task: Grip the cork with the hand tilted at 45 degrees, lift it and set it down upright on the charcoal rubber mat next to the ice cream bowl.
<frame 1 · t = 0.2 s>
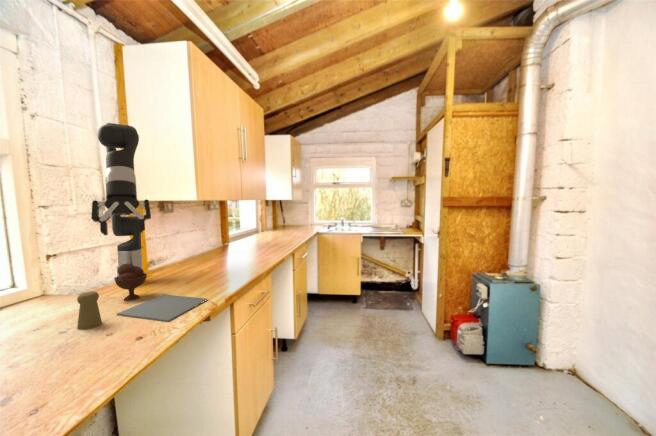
hand: (123, 233, 80), 31 cm above the worktop, tool tilted 20°, fingers open, 8 cm apart
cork: (89, 325, 86), on the worktop
ice cream bowl: (131, 299, 109), on the worktop
charcoal mat: (165, 307, 101), on the worktop
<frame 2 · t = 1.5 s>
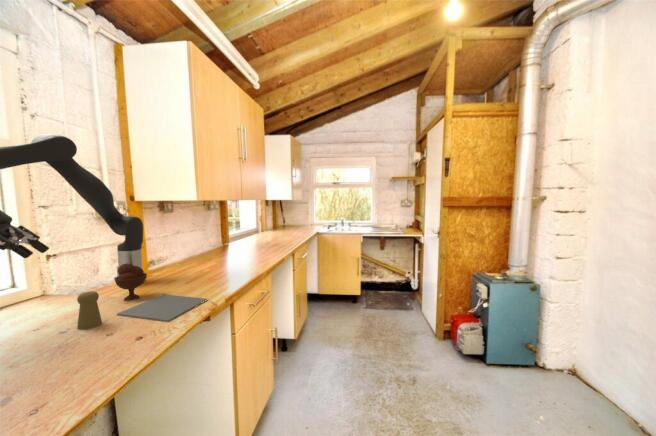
hand: (38, 253, 80), 25 cm above the worktop, tool tilted 45°, fingers open, 8 cm apart
nothing on the worktop moved.
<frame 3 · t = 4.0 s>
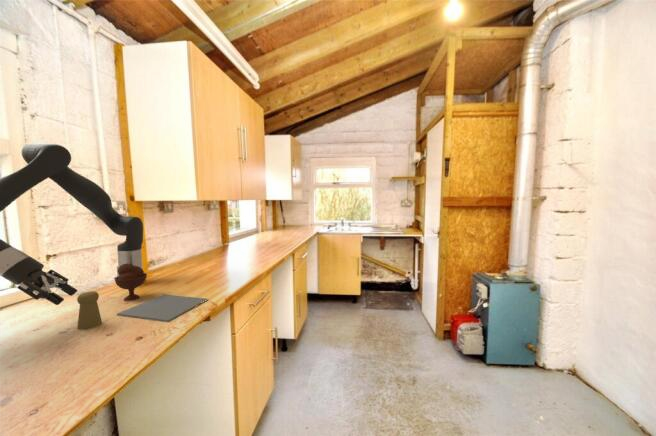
hand: (68, 297, 83), 10 cm above the worktop, tool tilted 45°, fingers open, 8 cm apart
nothing on the worktop moved.
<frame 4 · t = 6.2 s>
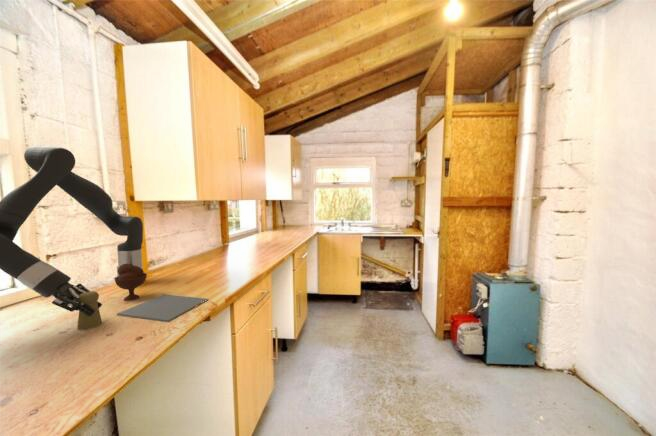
hand: (96, 310, 86), 5 cm above the worktop, tool tilted 45°, fingers closed on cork, 4 cm apart
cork: (89, 325, 86), on the worktop, touching gripper
everything else where it was.
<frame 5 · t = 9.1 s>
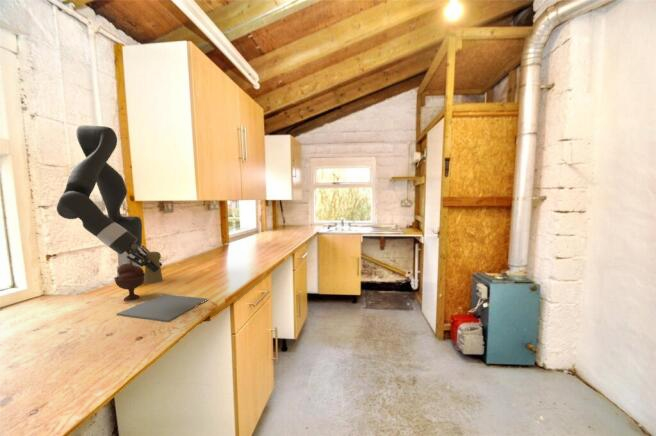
hand: (158, 268, 98), 16 cm above the worktop, tool tilted 45°, fingers closed on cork, 4 cm apart
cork: (153, 281, 98), point 11 cm above the worktop, touching gripper
everything else where it was.
when the fingers open (6 cm above the worktop, at t = 12.1 s): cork drops 1 cm, resting on charcoal mat.
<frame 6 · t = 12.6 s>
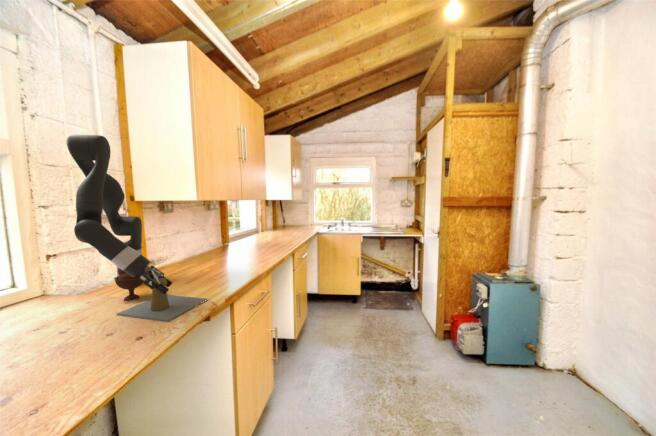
hand: (168, 288, 101), 7 cm above the worktop, tool tilted 45°, fingers open, 8 cm apart
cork: (160, 308, 98), point 1 cm above the worktop, touching charcoal mat, gripper
everything else where it was.
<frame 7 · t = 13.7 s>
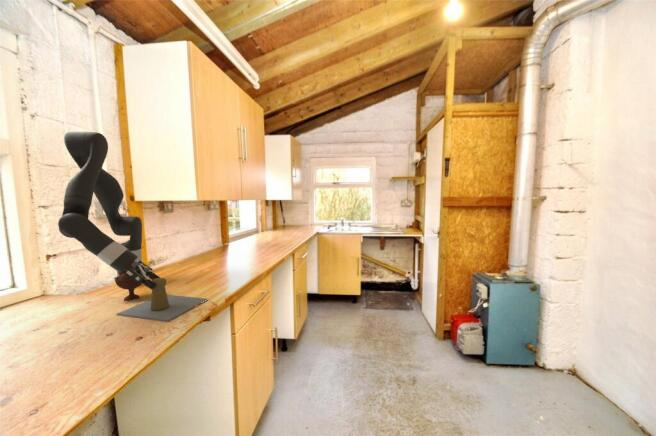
hand: (156, 283, 99), 9 cm above the worktop, tool tilted 45°, fingers open, 8 cm apart
nothing on the worktop moved.
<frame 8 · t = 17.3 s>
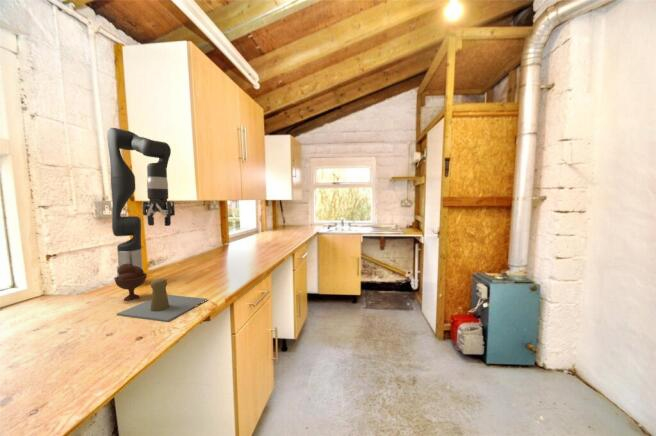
hand: (159, 225, 114), 30 cm above the worktop, tool pointing down, fingers open, 8 cm apart
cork: (160, 308, 98), resting on charcoal mat
everything else where it was.
at the end: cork inside the target area on the charcoal mat (2.4 cm from its centre), point 0.4 cm above the charcoal mat's base; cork tilted 0°; the gripper is holding nothing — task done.
